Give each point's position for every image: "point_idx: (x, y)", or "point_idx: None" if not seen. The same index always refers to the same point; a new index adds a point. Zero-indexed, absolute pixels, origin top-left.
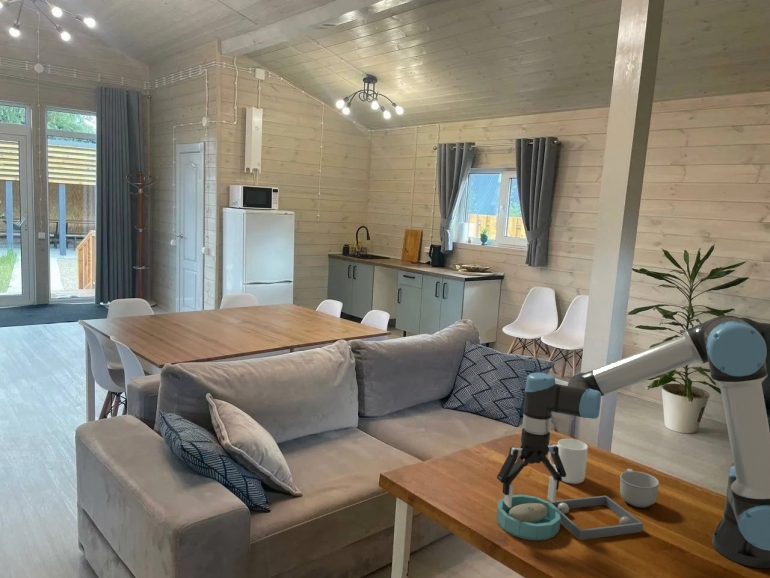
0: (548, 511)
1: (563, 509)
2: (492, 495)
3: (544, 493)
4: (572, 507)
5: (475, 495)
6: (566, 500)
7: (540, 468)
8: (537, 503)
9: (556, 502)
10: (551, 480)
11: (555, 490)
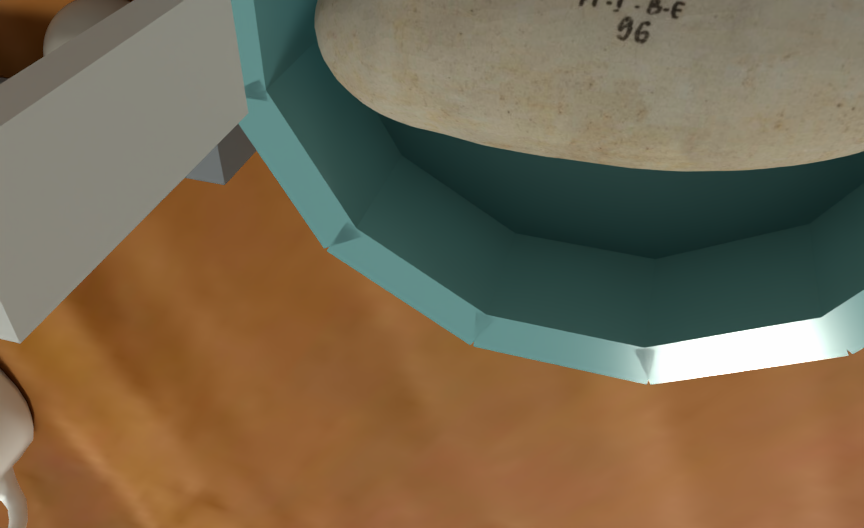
0: (300, 23)
1: None
2: (612, 460)
3: (182, 325)
4: None
5: (757, 514)
6: None
7: (103, 509)
8: (429, 91)
9: None
10: (21, 243)
11: (63, 54)
